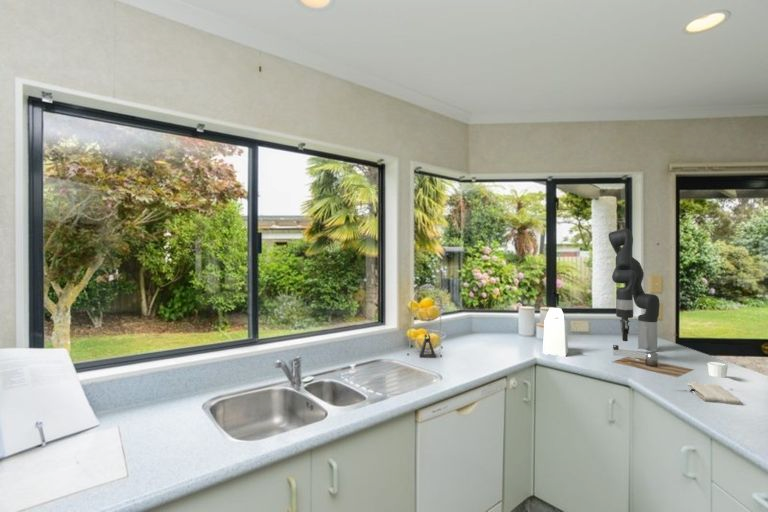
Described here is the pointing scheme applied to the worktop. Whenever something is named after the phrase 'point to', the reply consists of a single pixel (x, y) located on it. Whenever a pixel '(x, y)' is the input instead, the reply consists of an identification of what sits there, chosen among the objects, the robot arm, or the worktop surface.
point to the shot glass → (717, 369)
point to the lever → (637, 355)
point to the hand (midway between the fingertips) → (625, 340)
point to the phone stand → (424, 349)
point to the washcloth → (713, 393)
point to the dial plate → (661, 367)
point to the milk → (555, 333)
